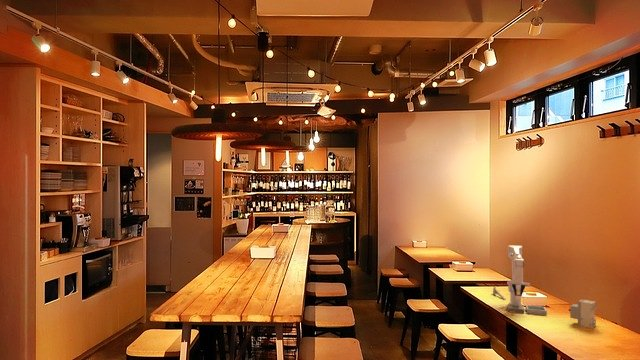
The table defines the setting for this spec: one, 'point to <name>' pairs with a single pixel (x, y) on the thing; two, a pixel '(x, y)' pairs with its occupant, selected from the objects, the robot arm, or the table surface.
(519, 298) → the fuse
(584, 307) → the circuit breaker
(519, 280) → the robot arm
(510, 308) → the fuse holder
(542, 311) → the parts tray
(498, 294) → the caliper
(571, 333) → the table surface
